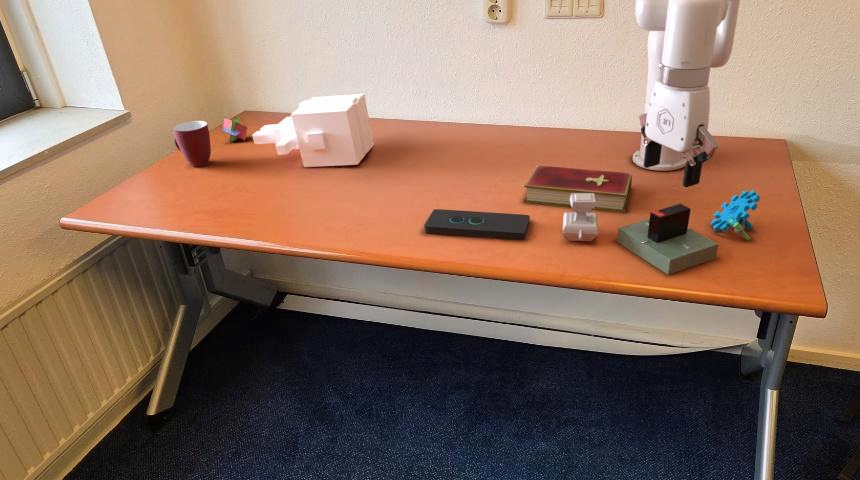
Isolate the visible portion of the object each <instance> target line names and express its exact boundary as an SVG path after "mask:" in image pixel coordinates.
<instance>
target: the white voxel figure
mask: <svg viewBox="0 0 860 480" xmlns="http://www.w3.org/2000/svg"><path fill="white" fill-rule="evenodd" d="M251 136H252V140H253V143H254V145H266V144H275V145H274V146H275V151H276V153H277V155H278V156H282V155H289V153H290V152H291V151H293V150H299V153H300V156H301V161H302V164H303V168H312V167H313V168H314V167H315V168H317V167H335V166H336V167H337V166H353V165H354V166H356V165H359V164H360V162H361V161H362V160H364V157H366V155H367V154H368V152H369V151H370V150H371V149H372V147H373V146H374V145H375V143H374V137H373V132H372V126H371V122H370V117H369V111H368V106H367V101H366V95H365V93H354V94H341V95H325V96H312V97H310V98H309V99H307V100H302V101H300V103H298V108H297V109H296V110H294V111H293V112H292V113H291V114H290V116H286V117H284V119H282V120H281V121H280V122H278V124H277V123H276V124H265V125H263V126H262V127H260V129H259V130H257V131H255V132H254V133H253V134H252V135H251Z"/></svg>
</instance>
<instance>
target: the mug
mask: <svg viewBox="0 0 860 480" xmlns="http://www.w3.org/2000/svg"><path fill="white" fill-rule="evenodd" d="M172 131H173V135H174V137H173V141H174V145H175V147H176V149H177V150H178V151H179V152H181V154H182V155H183V157H184V159H185V160H186V161H187V162H188V164H189V165H191V167H194V168H200V167H201V168H202V167H205V166H207V165H208V164H209V162H210V158H211V153H212V151H211V149H212V148H211V136H210V130H209V126H208V123H207V122H206V121H204V120H189V121H183V122H180V123H177V124H176V125H174V126H173V127H172Z"/></svg>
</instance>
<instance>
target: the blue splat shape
mask: <svg viewBox="0 0 860 480" xmlns="http://www.w3.org/2000/svg"><path fill="white" fill-rule="evenodd" d="M730 200H731V201H730V203H728V202H727V201H725V202H724V203H722V204H721V205H720V207H721V208H722V209H723V211H722V212H720V210H717V211H715V213H714V214H713V217H714V219H712V220H711V223H710V225H711V226H712V227H713V229H714V230H715V231H716V232H719V231H722V232H727V231H728V230H729V228H730V227H732V228H734V233H736V234H738V235H741V236H742V237H743V238H744V239H745V240H746V241H750V239H751V237H750V236H749V234H748V233H747V232H745V227H746V229H747V230H748V231H751V230H752V229H754V225H753V224H752V223H751V222H750V221H749V220H748V219H749V218H750V217H751V215H750V214H749V212H748V211H749V210H751V211H753V212H754V211H755V210H756V209H757V208H758V207H759V205H758V204H757V203H758V202H759V201H760V200H761V196H760V195H759V194H758V193H757V192H756V191H755V189H752V190H750V191H748V190H743V191H742V192H741V193H740V195H738V194H735V195H732V196H731V197H730Z"/></svg>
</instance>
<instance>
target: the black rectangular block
mask: <svg viewBox="0 0 860 480" xmlns="http://www.w3.org/2000/svg"><path fill="white" fill-rule="evenodd" d="M691 210H692V209H691V208H690V207H688V206H687V205H684V204H683V203H677V204H674V205H671V206H667V207H664V208H660V209H654V210H652V211H650V213H649V219H650V220H649V228H648V236H647V237H648V238H649V239H651V240H653V241H654V242H656V243H658V242H662V241H665V240H668V239H671V238H674V237H677V236H680V235H683V234H687V229H688V228H689V221H690V216H691Z"/></svg>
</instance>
